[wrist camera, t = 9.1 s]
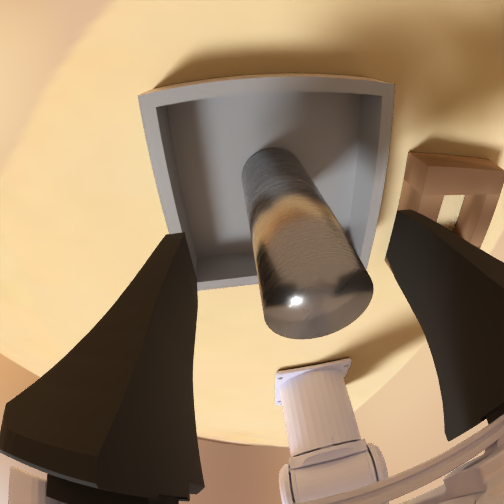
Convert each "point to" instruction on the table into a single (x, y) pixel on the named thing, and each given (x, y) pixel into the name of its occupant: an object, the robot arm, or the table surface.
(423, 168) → the socket
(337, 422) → the robot arm
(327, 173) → the tray
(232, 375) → the table surface
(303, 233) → the pin
